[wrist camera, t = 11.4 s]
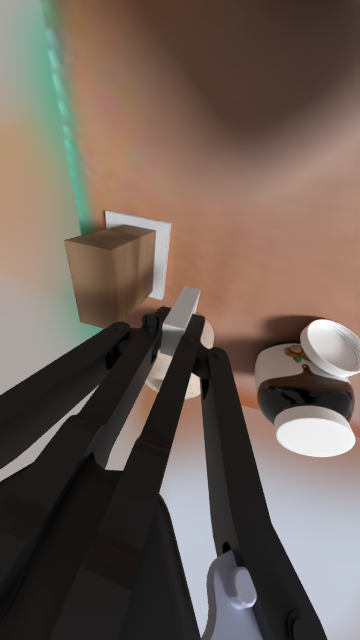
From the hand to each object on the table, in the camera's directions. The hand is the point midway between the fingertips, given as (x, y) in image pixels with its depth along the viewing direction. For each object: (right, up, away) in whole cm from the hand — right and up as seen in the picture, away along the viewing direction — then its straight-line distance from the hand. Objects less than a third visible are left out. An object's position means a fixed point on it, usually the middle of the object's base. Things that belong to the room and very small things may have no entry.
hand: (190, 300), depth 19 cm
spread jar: (+16, -6, +9) cm, 19 cm away
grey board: (-7, +7, +8) cm, 12 cm away
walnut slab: (-6, +6, +7) cm, 11 cm away
